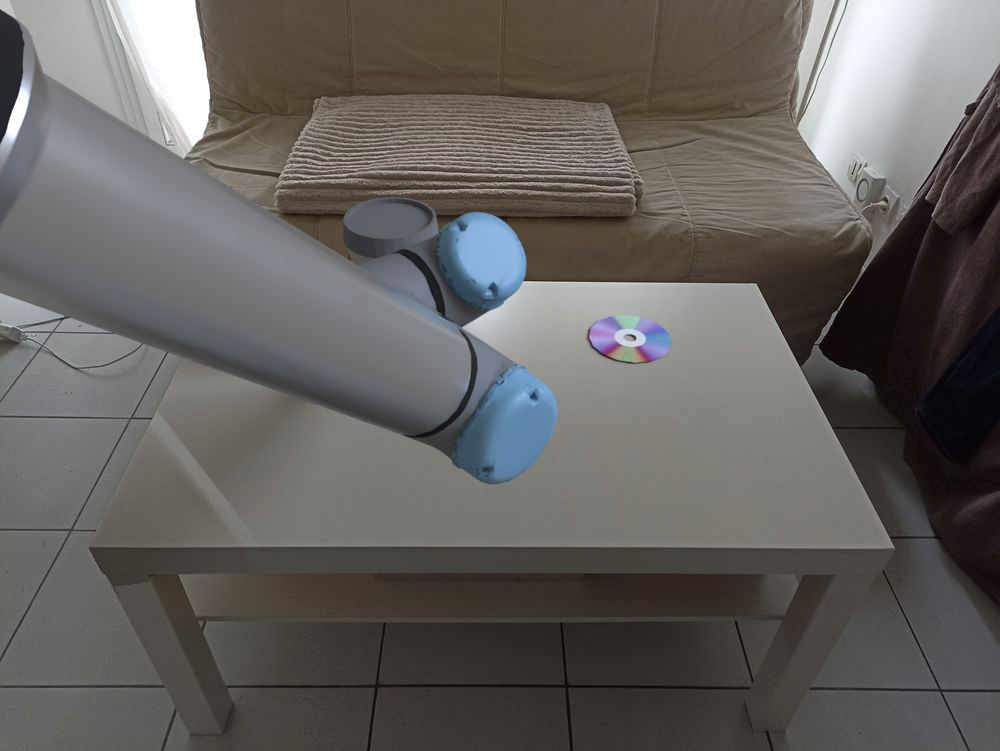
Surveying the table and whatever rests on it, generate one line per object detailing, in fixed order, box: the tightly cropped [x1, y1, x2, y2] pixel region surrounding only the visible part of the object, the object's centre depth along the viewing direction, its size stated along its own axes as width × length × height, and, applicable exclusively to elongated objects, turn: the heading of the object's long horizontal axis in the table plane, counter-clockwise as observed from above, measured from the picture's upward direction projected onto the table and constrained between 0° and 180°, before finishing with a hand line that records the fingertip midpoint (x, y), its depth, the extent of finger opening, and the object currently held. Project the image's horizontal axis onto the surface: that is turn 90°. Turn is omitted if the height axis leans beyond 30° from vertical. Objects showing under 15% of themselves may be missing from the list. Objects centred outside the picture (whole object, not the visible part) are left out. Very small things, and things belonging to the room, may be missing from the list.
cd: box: [588, 314, 672, 364], centre depth 103 cm, size 11×11×1 cm
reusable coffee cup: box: [342, 196, 440, 265], centre depth 102 cm, size 13×13×15 cm
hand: (334, 371), depth 90 cm, fingers closed
